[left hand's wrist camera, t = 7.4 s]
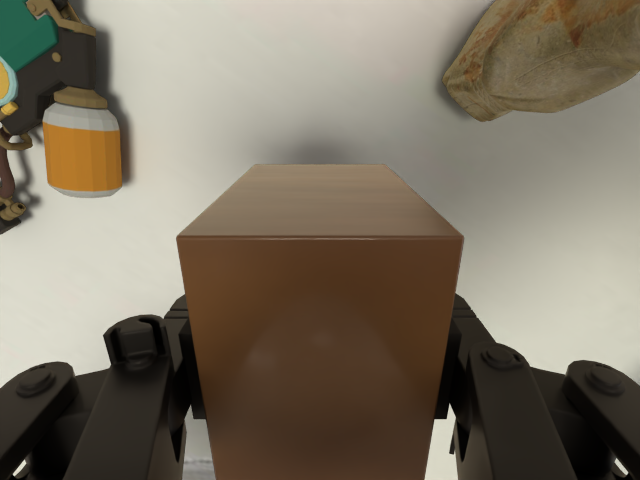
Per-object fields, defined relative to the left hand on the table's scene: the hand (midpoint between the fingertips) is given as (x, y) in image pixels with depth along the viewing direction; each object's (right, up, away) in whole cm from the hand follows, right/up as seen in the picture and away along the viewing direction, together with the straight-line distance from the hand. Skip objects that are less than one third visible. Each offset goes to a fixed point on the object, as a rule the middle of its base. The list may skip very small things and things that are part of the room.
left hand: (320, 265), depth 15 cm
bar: (0, -7, +3) cm, 8 cm away
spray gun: (-21, +10, +10) cm, 25 cm away
